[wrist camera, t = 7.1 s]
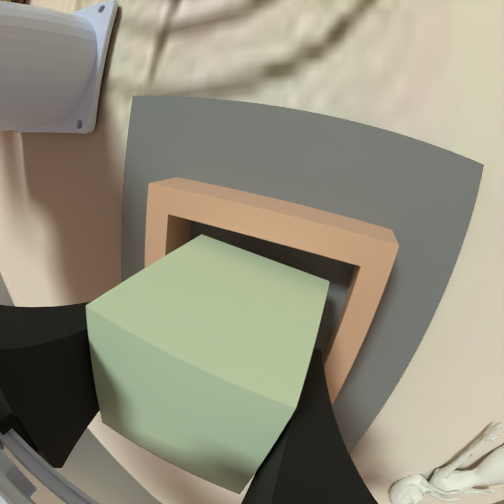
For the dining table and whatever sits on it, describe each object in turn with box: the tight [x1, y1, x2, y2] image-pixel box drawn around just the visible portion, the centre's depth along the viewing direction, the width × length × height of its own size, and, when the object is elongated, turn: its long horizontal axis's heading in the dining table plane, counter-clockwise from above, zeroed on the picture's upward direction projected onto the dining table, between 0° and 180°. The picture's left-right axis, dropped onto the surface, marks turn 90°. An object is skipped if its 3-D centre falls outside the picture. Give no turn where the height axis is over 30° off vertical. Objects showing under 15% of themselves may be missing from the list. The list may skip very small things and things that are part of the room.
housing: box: [122, 96, 484, 453], centre depth 13 cm, size 15×20×4 cm
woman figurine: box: [389, 422, 504, 504], centre depth 11 cm, size 12×4×18 cm
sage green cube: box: [86, 234, 330, 494], centre depth 9 cm, size 5×5×6 cm
